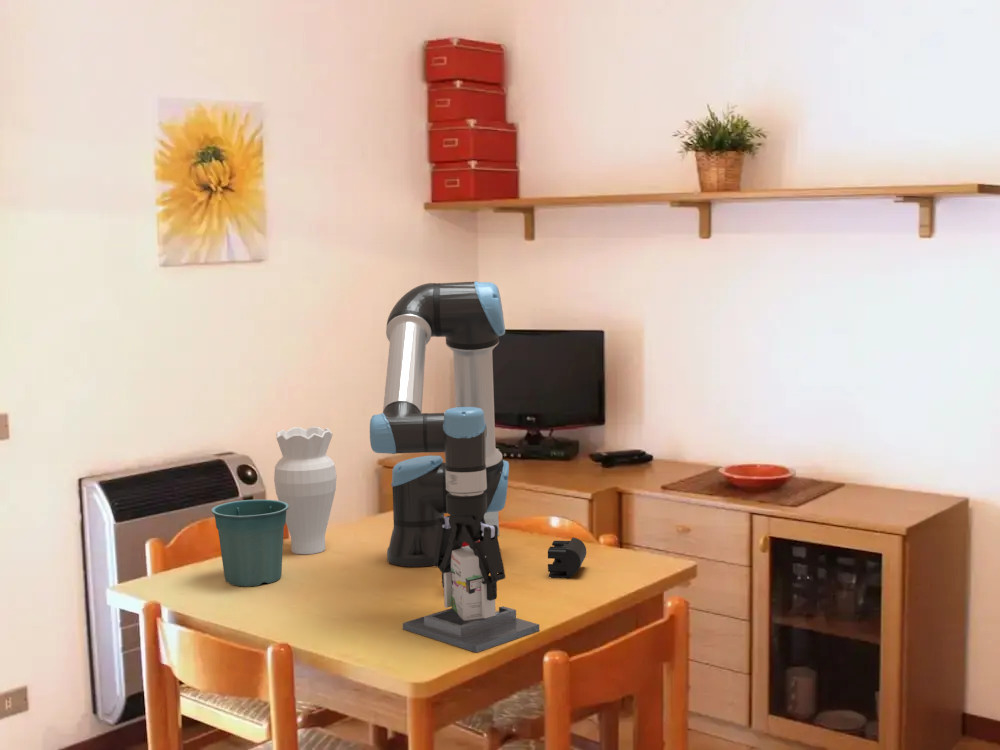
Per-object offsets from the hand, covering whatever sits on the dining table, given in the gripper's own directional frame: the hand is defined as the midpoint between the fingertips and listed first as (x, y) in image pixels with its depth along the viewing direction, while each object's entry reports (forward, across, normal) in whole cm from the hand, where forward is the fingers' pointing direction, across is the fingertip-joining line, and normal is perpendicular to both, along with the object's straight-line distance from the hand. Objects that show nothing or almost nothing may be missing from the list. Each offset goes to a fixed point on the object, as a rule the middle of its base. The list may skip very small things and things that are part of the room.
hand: (469, 611), depth 220 cm
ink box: (+1, 0, 0) cm, 1 cm away
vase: (+4, -74, +16) cm, 76 cm away
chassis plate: (+4, 0, 0) cm, 4 cm away
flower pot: (+4, -62, -7) cm, 62 cm away
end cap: (+4, -13, +41) cm, 43 cm away
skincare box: (+4, -53, +55) cm, 77 cm away
